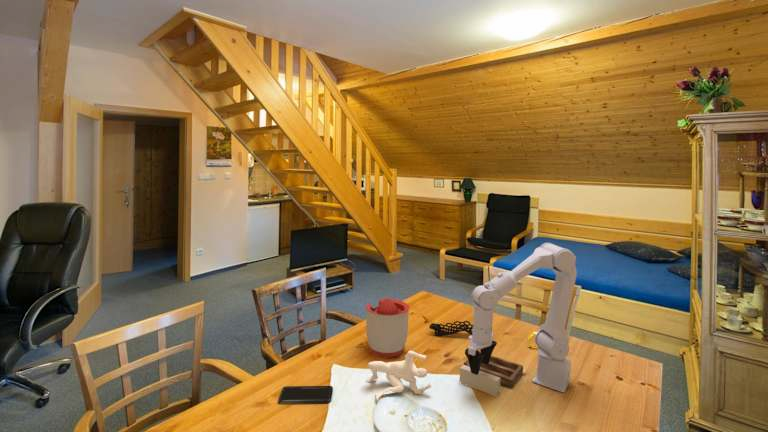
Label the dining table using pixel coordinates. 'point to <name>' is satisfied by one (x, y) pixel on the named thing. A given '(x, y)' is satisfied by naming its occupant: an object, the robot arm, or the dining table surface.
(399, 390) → the person figurine
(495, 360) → the rack
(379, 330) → the citrus juicer
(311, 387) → the phone
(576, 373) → the dining table surface
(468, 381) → the clay strip
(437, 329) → the decorative element
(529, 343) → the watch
